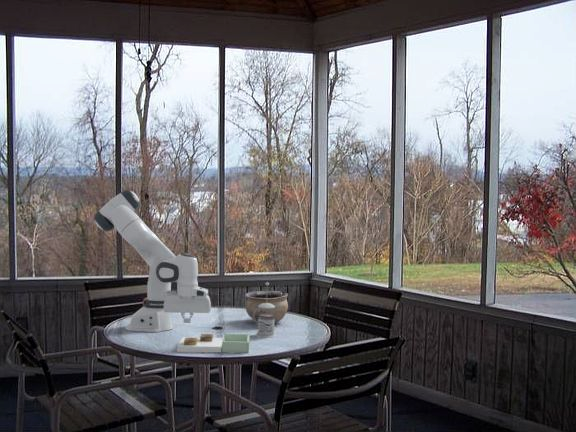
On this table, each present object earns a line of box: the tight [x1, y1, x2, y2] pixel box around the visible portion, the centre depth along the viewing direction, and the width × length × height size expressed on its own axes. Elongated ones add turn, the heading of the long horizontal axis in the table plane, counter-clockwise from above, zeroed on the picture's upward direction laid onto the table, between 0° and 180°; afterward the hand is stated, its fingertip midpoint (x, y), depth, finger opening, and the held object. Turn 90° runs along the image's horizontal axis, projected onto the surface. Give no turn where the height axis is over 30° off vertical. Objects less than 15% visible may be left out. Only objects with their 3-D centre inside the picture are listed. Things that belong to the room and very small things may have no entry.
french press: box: [252, 282, 277, 339], centre depth 301 cm, size 10×12×25 cm
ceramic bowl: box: [245, 290, 289, 324], centre depth 330 cm, size 22×22×15 cm
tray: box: [221, 333, 251, 354], centre depth 277 cm, size 11×15×4 cm
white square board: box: [176, 336, 224, 353], centre depth 276 cm, size 18×16×2 cm
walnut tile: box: [200, 333, 214, 341], centre depth 280 cm, size 5×5×2 cm
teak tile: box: [184, 338, 197, 345], centre depth 272 cm, size 5×5×2 cm
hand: (187, 322), depth 279 cm, fingers closed
